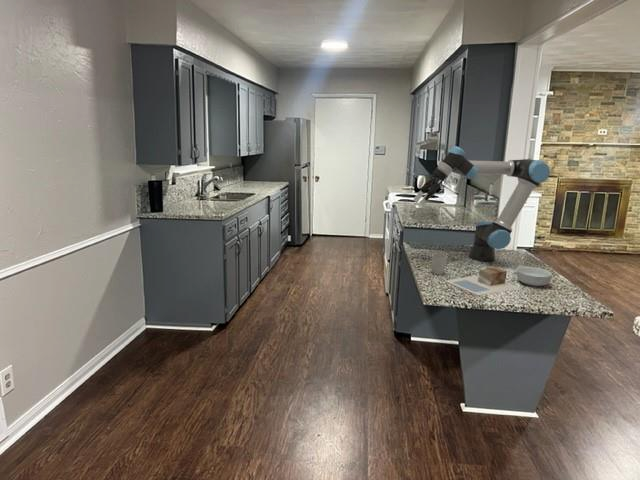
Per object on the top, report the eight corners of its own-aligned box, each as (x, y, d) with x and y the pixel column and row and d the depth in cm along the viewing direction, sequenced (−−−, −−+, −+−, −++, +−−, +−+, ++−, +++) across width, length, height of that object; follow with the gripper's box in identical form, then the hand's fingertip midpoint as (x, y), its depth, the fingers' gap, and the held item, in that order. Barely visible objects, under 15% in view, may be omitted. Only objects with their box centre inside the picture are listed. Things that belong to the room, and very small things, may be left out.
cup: (445, 272, 242) (448, 255, 239) (444, 277, 234) (447, 258, 232) (430, 270, 244) (432, 252, 242) (428, 274, 237) (431, 256, 234)
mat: (484, 275, 242) (484, 274, 242) (520, 288, 223) (520, 287, 223) (444, 281, 227) (444, 280, 227) (478, 296, 209) (478, 295, 209)
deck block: (493, 279, 235) (495, 267, 233) (504, 283, 229) (506, 271, 227) (477, 281, 229) (479, 269, 227) (488, 286, 223) (490, 273, 221)
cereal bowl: (516, 276, 242) (518, 264, 240) (550, 283, 234) (553, 270, 232) (512, 285, 228) (514, 271, 226) (548, 292, 220) (551, 278, 218)
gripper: (430, 166, 258) (407, 196, 261) (444, 169, 234) (418, 201, 237) (440, 174, 259) (417, 203, 263) (455, 177, 235) (429, 210, 238)
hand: (418, 202), depth 250 cm, fingers open, 13 cm apart
